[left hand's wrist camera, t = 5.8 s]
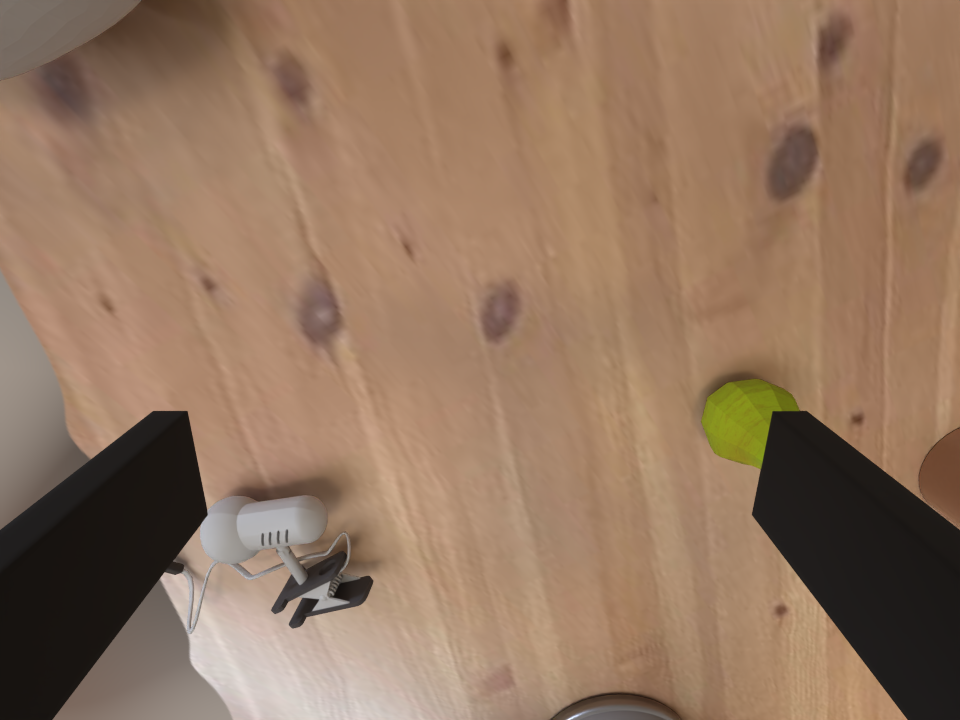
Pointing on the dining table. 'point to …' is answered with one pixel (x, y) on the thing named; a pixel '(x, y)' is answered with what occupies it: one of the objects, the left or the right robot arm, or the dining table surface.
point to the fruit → (743, 418)
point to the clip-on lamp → (278, 524)
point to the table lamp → (51, 29)
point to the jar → (943, 477)
